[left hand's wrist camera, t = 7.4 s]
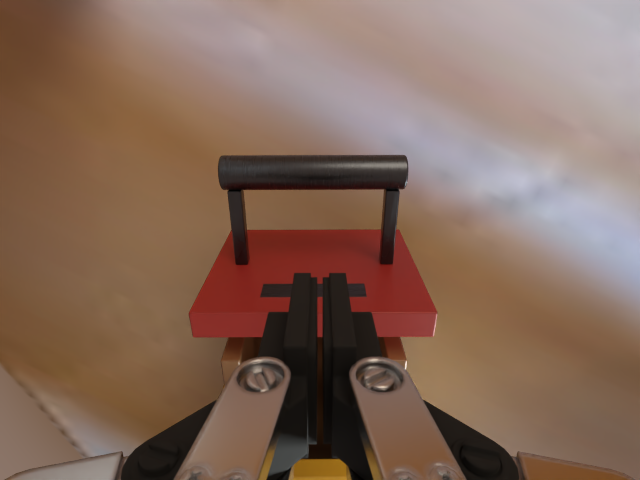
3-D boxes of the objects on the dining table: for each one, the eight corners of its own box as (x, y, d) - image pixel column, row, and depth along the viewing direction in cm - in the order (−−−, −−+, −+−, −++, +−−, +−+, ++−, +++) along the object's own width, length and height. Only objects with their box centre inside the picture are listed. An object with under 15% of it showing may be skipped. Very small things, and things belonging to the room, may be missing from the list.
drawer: (221, 138, 20) (164, 184, 13) (407, 138, 20) (458, 183, 13) (255, 451, 30) (235, 574, 23) (378, 450, 30) (396, 574, 23)
